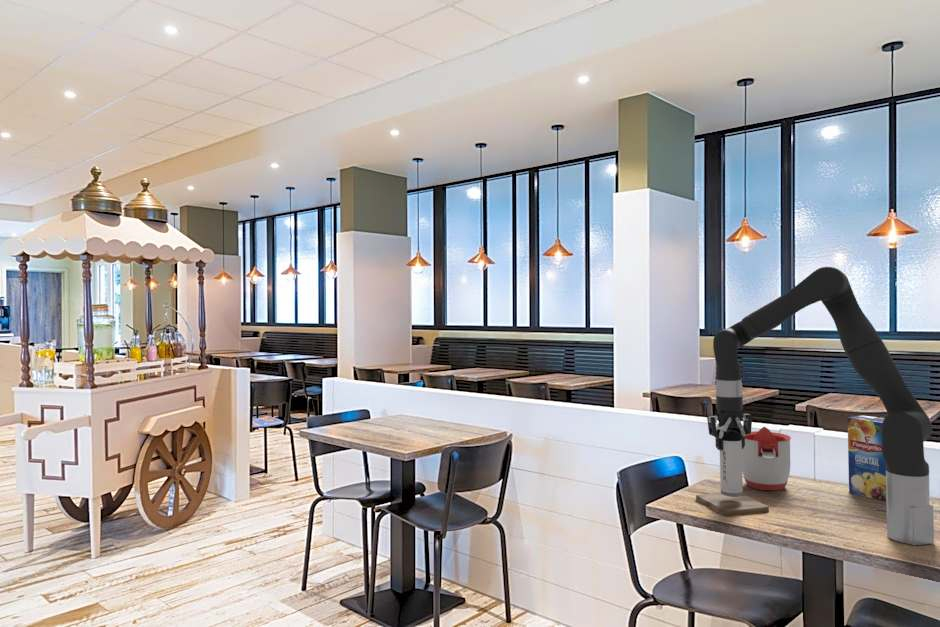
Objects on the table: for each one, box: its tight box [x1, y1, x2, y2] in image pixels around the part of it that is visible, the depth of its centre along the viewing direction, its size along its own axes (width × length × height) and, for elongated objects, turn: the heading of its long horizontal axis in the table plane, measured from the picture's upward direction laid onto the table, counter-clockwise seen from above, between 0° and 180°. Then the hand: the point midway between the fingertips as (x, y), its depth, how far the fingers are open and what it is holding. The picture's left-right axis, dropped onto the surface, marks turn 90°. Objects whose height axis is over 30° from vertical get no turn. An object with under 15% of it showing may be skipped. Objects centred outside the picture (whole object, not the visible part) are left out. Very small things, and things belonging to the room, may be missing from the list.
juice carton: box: [847, 414, 886, 503], centre depth 202 cm, size 12×8×24 cm, turn 26°
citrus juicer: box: [742, 426, 792, 491], centre depth 214 cm, size 16×17×20 cm
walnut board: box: [695, 492, 770, 517], centre depth 196 cm, size 16×14×2 cm
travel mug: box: [719, 428, 744, 497], centre depth 196 cm, size 6×7×20 cm
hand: (730, 449), depth 196 cm, fingers closed on travel mug, 6 cm apart
